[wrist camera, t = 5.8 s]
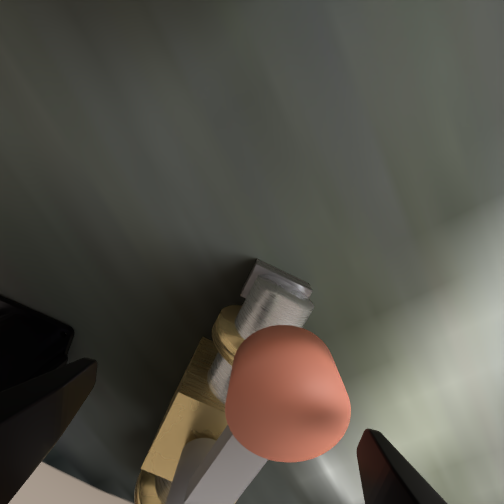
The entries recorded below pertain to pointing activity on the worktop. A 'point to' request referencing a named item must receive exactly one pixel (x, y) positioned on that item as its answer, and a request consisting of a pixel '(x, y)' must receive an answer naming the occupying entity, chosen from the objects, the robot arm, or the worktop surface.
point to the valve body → (218, 373)
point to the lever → (266, 416)
